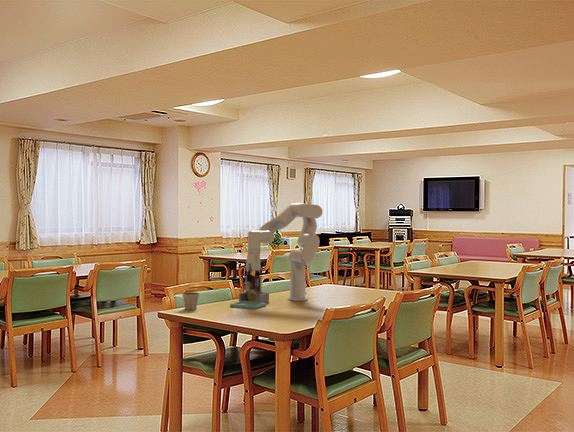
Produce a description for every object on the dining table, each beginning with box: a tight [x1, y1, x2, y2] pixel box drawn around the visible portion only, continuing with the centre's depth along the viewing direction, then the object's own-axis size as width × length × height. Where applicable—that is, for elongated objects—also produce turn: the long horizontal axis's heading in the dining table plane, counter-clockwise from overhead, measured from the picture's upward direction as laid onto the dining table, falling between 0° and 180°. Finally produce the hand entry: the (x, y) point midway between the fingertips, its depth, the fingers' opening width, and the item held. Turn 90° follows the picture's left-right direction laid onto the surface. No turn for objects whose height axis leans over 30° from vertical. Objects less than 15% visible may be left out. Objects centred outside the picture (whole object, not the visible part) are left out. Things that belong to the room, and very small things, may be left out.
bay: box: [238, 291, 270, 304], centre depth 331 cm, size 12×14×6 cm
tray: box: [229, 300, 267, 310], centre depth 318 cm, size 13×16×2 cm
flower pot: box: [182, 291, 200, 311], centre depth 306 cm, size 9×9×9 cm
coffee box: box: [244, 275, 263, 302], centre depth 330 cm, size 9×6×16 cm
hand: (253, 280), depth 330 cm, fingers open, 9 cm apart
